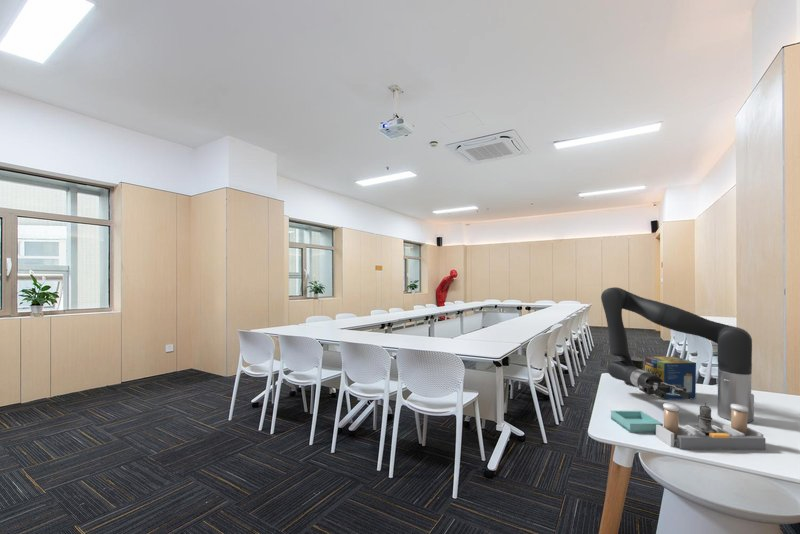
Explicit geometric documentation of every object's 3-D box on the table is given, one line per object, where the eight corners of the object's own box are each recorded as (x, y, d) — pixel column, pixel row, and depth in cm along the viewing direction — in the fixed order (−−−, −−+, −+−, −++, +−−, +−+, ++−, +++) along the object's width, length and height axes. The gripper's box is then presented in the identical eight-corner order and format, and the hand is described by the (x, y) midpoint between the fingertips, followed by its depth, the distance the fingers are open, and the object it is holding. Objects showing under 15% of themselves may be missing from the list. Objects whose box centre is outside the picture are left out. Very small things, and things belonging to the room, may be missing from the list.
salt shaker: (718, 446, 114) (719, 407, 114) (694, 441, 117) (695, 403, 117) (714, 438, 119) (715, 401, 119) (691, 434, 122) (692, 398, 122)
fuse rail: (732, 432, 124) (732, 419, 124) (768, 449, 112) (768, 435, 112) (647, 431, 124) (647, 418, 124) (674, 449, 112) (674, 435, 112)
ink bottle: (640, 381, 178) (641, 357, 178) (651, 387, 169) (651, 361, 169) (619, 381, 179) (620, 356, 179) (629, 387, 170) (629, 361, 170)
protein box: (644, 391, 164) (644, 356, 164) (675, 390, 166) (675, 356, 166) (663, 399, 154) (663, 362, 154) (696, 398, 156) (697, 362, 155)
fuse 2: (739, 437, 120) (739, 403, 120) (751, 443, 116) (752, 408, 116) (726, 437, 120) (727, 403, 120) (738, 443, 116) (739, 408, 116)
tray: (640, 419, 134) (640, 410, 134) (662, 432, 123) (662, 423, 123) (610, 418, 134) (610, 410, 134) (629, 432, 123) (630, 423, 123)
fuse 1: (672, 436, 120) (672, 403, 120) (682, 443, 116) (682, 408, 116) (659, 436, 120) (660, 403, 120) (669, 442, 116) (669, 408, 116)
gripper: (628, 371, 145) (657, 385, 129) (664, 372, 145) (697, 386, 129) (627, 390, 145) (656, 406, 129) (663, 391, 145) (696, 407, 129)
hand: (677, 396), depth 129 cm, fingers open, 8 cm apart
